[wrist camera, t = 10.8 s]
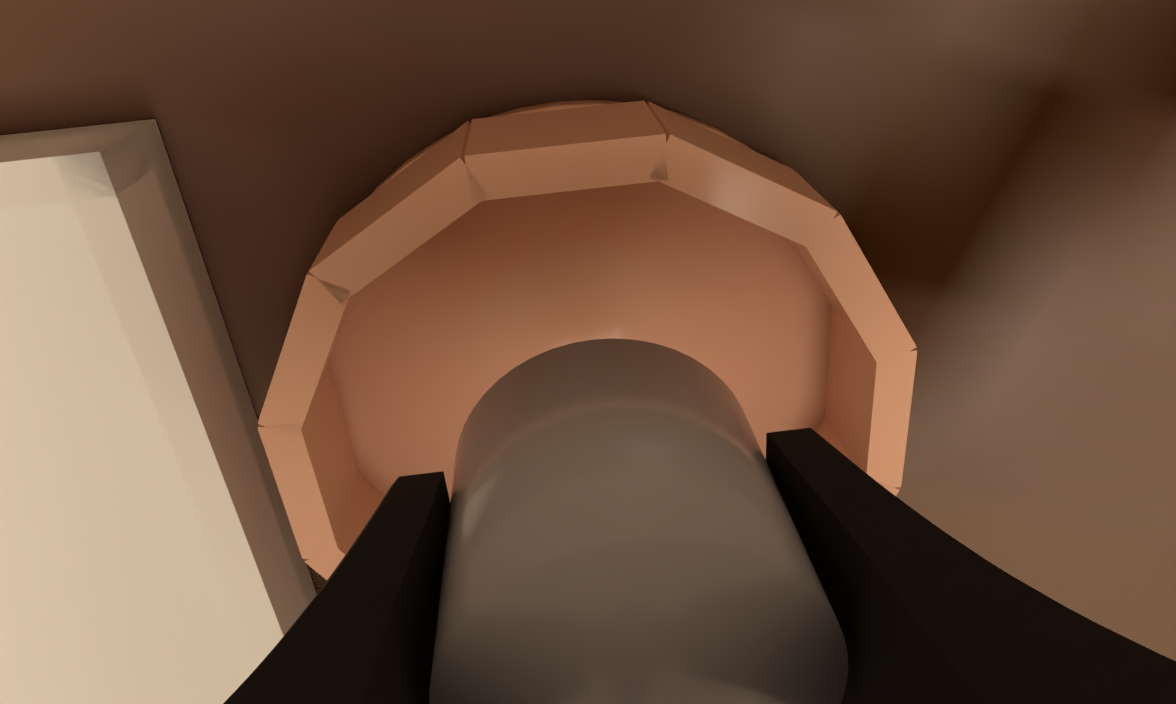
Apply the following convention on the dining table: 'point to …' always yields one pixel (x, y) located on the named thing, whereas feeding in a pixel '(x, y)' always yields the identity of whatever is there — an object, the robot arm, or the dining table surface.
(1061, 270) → the dining table surface
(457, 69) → the dining table surface
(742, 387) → the bowl
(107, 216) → the tray
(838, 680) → the pebble
